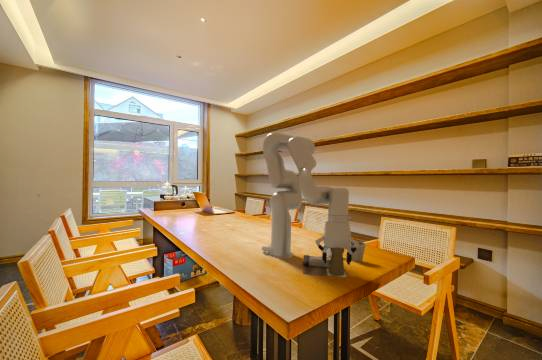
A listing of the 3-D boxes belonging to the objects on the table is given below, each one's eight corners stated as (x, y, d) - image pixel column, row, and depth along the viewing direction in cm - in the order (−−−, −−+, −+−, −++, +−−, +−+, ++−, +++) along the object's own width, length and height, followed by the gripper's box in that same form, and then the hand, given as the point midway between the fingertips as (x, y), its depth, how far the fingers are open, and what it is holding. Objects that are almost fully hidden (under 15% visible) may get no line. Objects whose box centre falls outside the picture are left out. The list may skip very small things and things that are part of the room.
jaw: (303, 265, 99) (303, 256, 99) (303, 263, 101) (303, 254, 101) (339, 268, 96) (339, 259, 96) (338, 266, 99) (339, 257, 99)
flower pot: (367, 266, 104) (368, 246, 104) (345, 264, 106) (346, 245, 106) (363, 259, 114) (364, 241, 113) (343, 257, 115) (344, 239, 115)
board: (303, 277, 91) (303, 266, 91) (302, 263, 105) (302, 254, 105) (348, 280, 89) (348, 269, 89) (341, 266, 103) (342, 257, 103)
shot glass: (329, 260, 111) (329, 245, 110) (319, 255, 117) (320, 241, 117) (340, 258, 114) (340, 243, 114) (330, 253, 120) (330, 240, 120)
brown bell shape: (326, 269, 96) (327, 242, 96) (341, 269, 96) (342, 242, 96) (331, 275, 90) (332, 247, 90) (346, 276, 90) (347, 247, 90)
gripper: (358, 218, 95) (356, 261, 95) (314, 216, 97) (313, 258, 98) (363, 221, 88) (361, 268, 88) (316, 219, 90) (314, 264, 90)
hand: (336, 262), depth 93 cm, fingers open, 8 cm apart
